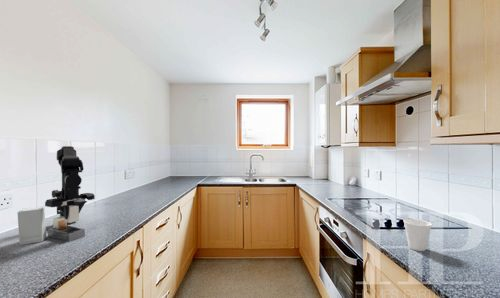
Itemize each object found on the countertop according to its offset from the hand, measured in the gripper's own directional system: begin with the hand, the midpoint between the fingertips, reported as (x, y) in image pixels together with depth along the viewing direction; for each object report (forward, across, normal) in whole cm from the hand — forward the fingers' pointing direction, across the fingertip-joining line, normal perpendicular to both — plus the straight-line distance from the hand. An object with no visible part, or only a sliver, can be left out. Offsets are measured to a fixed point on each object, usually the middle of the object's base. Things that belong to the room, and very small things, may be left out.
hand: (71, 217), depth 115 cm
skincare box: (+9, +10, -11) cm, 18 cm away
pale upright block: (+2, 0, 0) cm, 2 cm away
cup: (+9, -50, +145) cm, 154 cm away
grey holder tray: (+9, 0, -4) cm, 10 cm away
